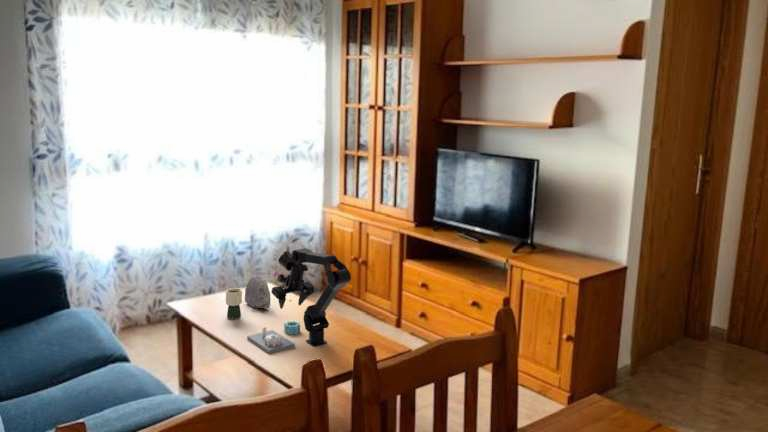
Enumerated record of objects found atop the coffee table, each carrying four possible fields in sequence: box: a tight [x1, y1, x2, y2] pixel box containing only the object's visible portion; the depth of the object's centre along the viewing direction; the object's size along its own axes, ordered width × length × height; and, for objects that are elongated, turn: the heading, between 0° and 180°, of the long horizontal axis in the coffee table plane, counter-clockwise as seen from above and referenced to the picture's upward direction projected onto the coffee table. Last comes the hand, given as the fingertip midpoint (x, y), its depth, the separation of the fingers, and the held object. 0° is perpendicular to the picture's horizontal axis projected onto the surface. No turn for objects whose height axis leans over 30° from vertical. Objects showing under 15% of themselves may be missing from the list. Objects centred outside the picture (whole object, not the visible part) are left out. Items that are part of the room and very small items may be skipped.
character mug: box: [225, 287, 243, 319], centre depth 294 cm, size 11×7×13 cm, turn 36°
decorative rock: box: [244, 275, 271, 309], centre depth 310 cm, size 16×7×15 cm, turn 40°
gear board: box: [246, 326, 296, 355], centre depth 268 cm, size 18×12×6 cm, turn 40°
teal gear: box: [283, 320, 301, 335], centre depth 282 cm, size 7×7×4 cm
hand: (290, 306), depth 282 cm, fingers open, 9 cm apart
